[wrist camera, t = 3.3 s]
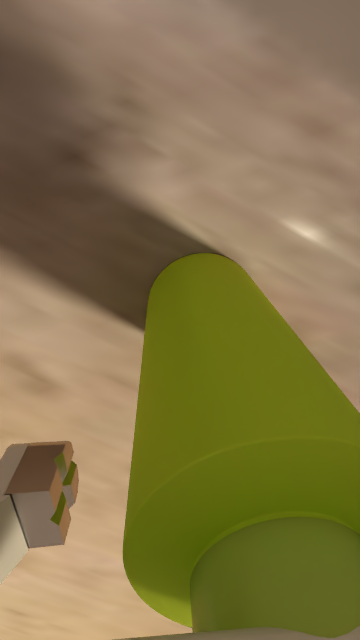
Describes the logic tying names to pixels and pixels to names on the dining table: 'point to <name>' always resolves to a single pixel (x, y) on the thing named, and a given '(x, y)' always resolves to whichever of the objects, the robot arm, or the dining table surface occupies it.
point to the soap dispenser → (240, 464)
